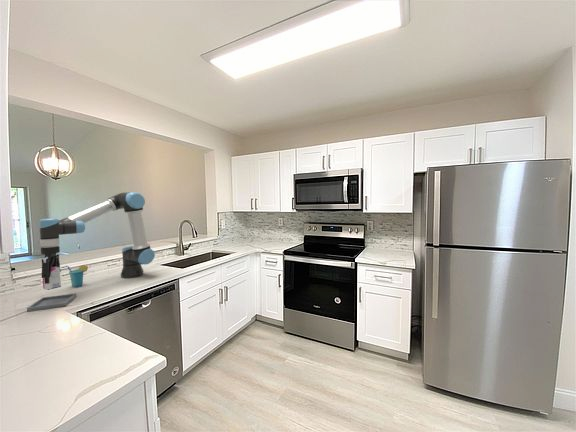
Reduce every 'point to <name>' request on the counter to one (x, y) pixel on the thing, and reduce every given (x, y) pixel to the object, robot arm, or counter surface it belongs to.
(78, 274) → the cup
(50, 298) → the tray
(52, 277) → the supplement box
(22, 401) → the counter surface
